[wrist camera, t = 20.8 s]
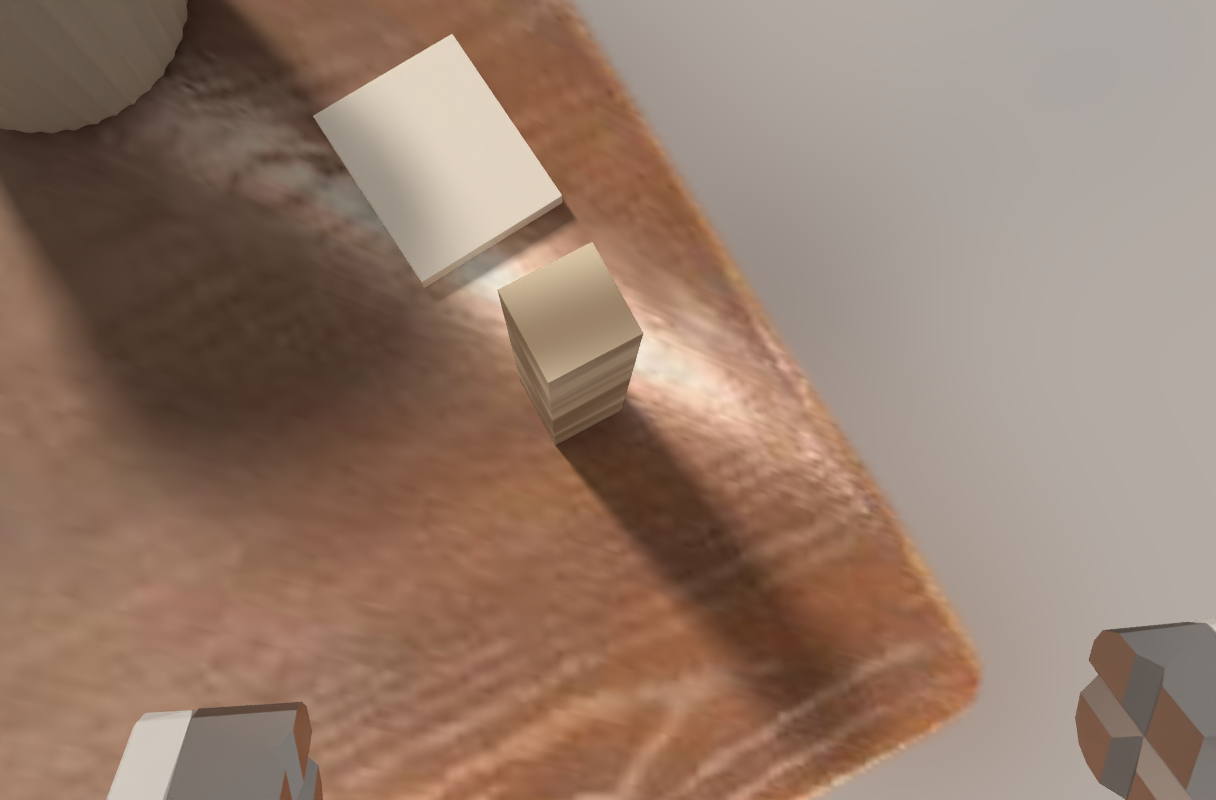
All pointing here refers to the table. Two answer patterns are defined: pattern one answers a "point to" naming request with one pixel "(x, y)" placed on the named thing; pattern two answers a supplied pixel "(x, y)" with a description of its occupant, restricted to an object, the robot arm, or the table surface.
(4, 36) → the canister
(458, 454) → the table surface
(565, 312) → the block
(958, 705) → the table surface
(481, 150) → the tile
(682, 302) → the table surface
